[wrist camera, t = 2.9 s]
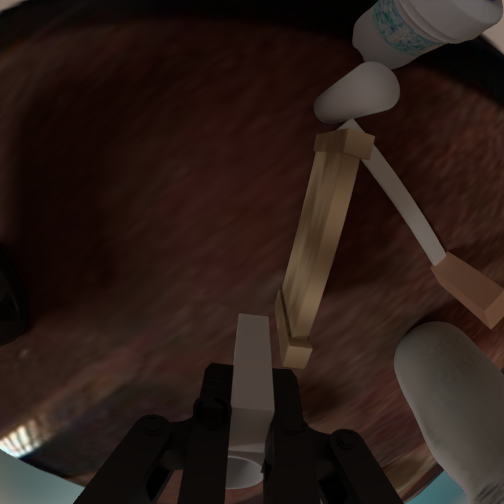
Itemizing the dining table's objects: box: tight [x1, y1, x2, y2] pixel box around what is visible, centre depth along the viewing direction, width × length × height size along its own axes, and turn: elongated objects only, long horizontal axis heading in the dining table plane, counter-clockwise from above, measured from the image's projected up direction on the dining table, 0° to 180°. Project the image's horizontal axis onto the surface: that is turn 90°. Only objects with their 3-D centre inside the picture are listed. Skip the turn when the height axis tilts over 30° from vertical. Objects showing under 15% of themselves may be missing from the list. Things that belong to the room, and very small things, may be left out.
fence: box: [313, 62, 504, 329], centre depth 24 cm, size 26×3×12 cm, turn 43°
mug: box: [226, 448, 265, 489], centre depth 34 cm, size 12×8×11 cm
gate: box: [274, 128, 375, 369], centre depth 25 cm, size 18×2×10 cm, turn 168°
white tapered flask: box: [394, 321, 504, 504], centre depth 22 cm, size 10×10×28 cm
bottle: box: [352, 0, 503, 70], centre depth 15 cm, size 7×7×20 cm
